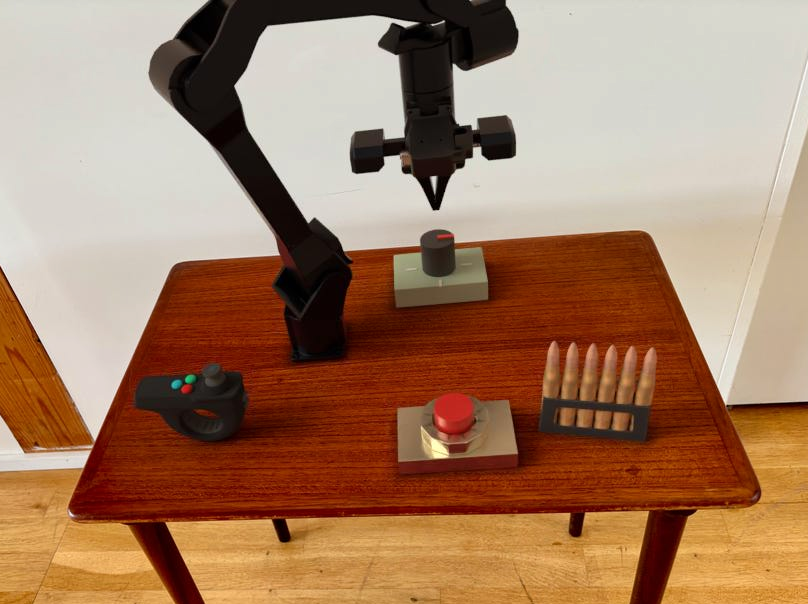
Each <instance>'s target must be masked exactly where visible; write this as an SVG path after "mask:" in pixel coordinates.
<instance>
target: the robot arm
mask: <svg viewBox="0 0 808 604" xmlns="http://www.w3.org/2000/svg"><path fill="white" fill-rule="evenodd" d="M371 16H374V17H380V18H381V17H382V18H386V19H387V18H388V19H392V20H398V21H402V22H409V23H414V24H411V25H409V26H403V25H401V24H398V23H396V22H391V23H390V25H389V27H388V28H387V30H386V32H385V33H384V34H383V35H382V36H381V38H380V39H379V40H378V42H377V47H378V48H379V49H382V50H383V51H385V52H388V53H390V54H392V55H394V56H397V57H398V69H399V78H400V89H401V99H402V100H401V102H402V108H403V119H404V127H403V135H404V137H393V138H386V137H385V136H386V135H385V129H384V128H374V129H364V130H355V131H354V133H353V134H352V135H351V136H350V145H349V163H350V169H351V173H353V174H355V175H361V174H372V173H379V172H380V171H381V170H382V169H383V168H384V167H385V164H386V161H385V158H386V157H387V158H388V157H397V156H399V160H401V161H400V162H401V163H400V164H401V165H400V166H401V173H402V174H403V175H411V176H412V177H414V178H415V179H416V181H417V182H418V184H419V186H420V188H421V189H422V191H423V193H424V195H425V197H426V200H427V201H428V203H429V206H430V207H431V211H433V212H435V211H440V210H441V206H442V203H443V199H444V196H445V193H446V190H447V187H448V184H449V182H450V181H451V177H452V176H453V175H454V174H455V173H456V171H457V170H462V169H464V168H465V167H466V160H469V159H470V160H471V159H473V158H474V149H475V148H480V154H481V156H482V157H483V158H485V159H486V161H489V162H490V161H500V160H509V159H513V158H514V157H516V156H517V136H516V131H515V128H514V124H513V121H512V119H511V118H510V117H509V116H508V115H507V114H503V115H494V116H486V117H485V116H484V117H477V119H476V129H473V125H472V124H465V125H460V123H458V122H457V120H456V104H455V103H456V102H455V84H454V82H455V81H454V65H455V66H456V67H457V68H458V69H459V70H461V71H463V72H469V71H472V70H474V69H477V68H480V67H482V66H485V65H488V64H492V63H494V62H497V61H499V60H502V59H505V58H508V57H510V56H512V55H513V54H514V53H515V52H516V50H517V47H518V44H519V37H520V33H519V32H520V31H519V28H518V27H517V23H516V20H515V17H514V15H513V13H512V11H511V9H510V8H509V7H508V6H507V0H207V1H206V2H205V3H203V5H201V7H199V8H198V9H197V11H195V12H194V13H193V14H192V15H191V16H190V17H188V18H187V19H186V20H185V22H183V24H182V25H181V27H180V28H179V29H178V31H177V33H176V34H175V35H174V37H173V38H172V39H169V40H167V41H164V42H163V43H161V44H160V45H159V46H158V47H157V48H156V49H155V50H154V51H153V54H152V56H151V59H150V60H149V66H148V67H149V68H148V72H147V74H148V78H149V82H150V83H151V85H152V87H153V89H154V90H155V92H156V93H157V94H158V95H159V96H160V97H161V98H162V99H163V100H164V101H165V102H167V104H168V105H169V106H171V108H172V109H174V110H175V111H176V112H177V113H178V114H179V115H180V116H181V117H182V119H184V120H185V121H186V122H187V123H188V124H189V125H190V126H191V127H192V128H193V129H194V130H195V131H196V132H197V133H198V134H199V135H200V136H202V138H203V139H204V140H206V141H207V143H208V144H209V145H210V147H211V148H212V150H213V151H214V152H215V154H216V156H217V157H218V158H219V160H220V161H221V163H222V164H223V165H224V166H225V168H226V170H227V171H228V172H229V174H230V175H231V177H232V179H234V181H235V182H236V184H237V185H238V186H239V188H240V189H241V191H242V192H243V193H244V195H245V196H246V198H247V199H248V201H249V202H250V203H251V205H252V206H253V208H254V209H255V210H256V212H257V213H258V215H259V216H260V217H261V219H262V220H263V222H264V223H265V224H266V226H267V228H268V229H269V230H270V232H271V234H273V236H274V238H275V242H276V247H277V252H278V254H279V256H280V258H281V261H282V263H283V265H282V267H281V268H280V269H279V272H278V273H277V274H276V277H275V278H274V280H273V282H272V284H271V289H272V290H273V291H274V292H275V293H276V295H277V296H278V297H279V298H280V299H281V300H282V302H283V303H285V304H284V309H283V318H284V319H283V320H284V323H285V327H286V330H287V334H288V338H289V342H290V345H291V349H290V350H291V351H290V361H291V362H293V363H299V362H301V363H302V362H311V361H312V362H313V361H323V360H324V361H325V360H337V359H338V360H339V359H342V358H343V356H344V346H345V345H346V344H347V338H348V329H347V328H348V327H347V322H346V317H345V312H344V308H345V303H346V299H347V292H348V289H349V287H350V286H351V285H350V284H351V281H352V280H353V278H354V274H353V269H352V268H351V266H350V265H353V264H354V260H353V259H352V258H351V257H350V256H349V255H347V254H346V253H345V251H344V247H343V245H342V243H341V241H340V239H339V237H338V236H336V235H335V234H334V233H333V232H332V231H331V230H330V229H329V228H328V227H327V226H326V225H324V224H323V223H322V222H321V221H320V220H319V219H317V217H316V216H314V217H313V218H312V219H311V220H310V221H309V222H308V220H307V219H306V217H305V216H304V214H303V213H302V211H301V210H300V207H299V206H298V205H297V203H296V202H295V200H294V198H293V197H292V196H291V194H290V193H289V191H288V189H287V188H286V187H285V185H284V183H283V182H282V180H281V178H280V176H279V175H278V174H277V172H276V170H275V169H274V167H273V166H272V164H271V162H269V160H268V158H267V157H266V155H265V154H264V152H263V150H262V149H261V147H260V146H259V144H258V143H257V141H256V140H255V138H254V136H253V135H252V134H251V132H250V130H249V127H248V126H247V125H248V124H247V121H246V117H245V111H244V109H243V108H244V107H243V103H242V101H241V99H240V97H239V93H238V91H237V89H236V85H237V83H238V82H239V81H240V79H241V78H242V76H243V75H244V74H245V72H246V71H247V69H248V67H249V65H250V63H251V59H252V57H253V54H254V52H255V49H256V47H257V44H258V41H259V39H260V38H261V36H262V35H263V33H264V32H265V31H266V29H267V28H268V27H273V26H280V25H290V24H291V25H293V24H300V23H301V24H302V23H311V22H312V23H313V22H321V21H332V20H333V21H334V20H340V19H342V20H343V19H351V18H361V17H371ZM433 177H435V188H434V183H433Z"/></svg>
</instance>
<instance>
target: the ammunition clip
mask: <svg viewBox="0 0 808 604" xmlns="http://www.w3.org/2000/svg"><path fill="white" fill-rule="evenodd" d="M559 349H560V348H559V346H558V343H557V341H556V340H553V341H552V342H551V343H550V345H549V348H548V351H547V355H546V362H545V369H544V371H543V378H542V391H541V392H542V394H541V405H540V406H541V407H540V415H539V423H538V432H541V433H548V434H560V435H568V436H570V435H571V436H579V437H580V436H581V437H590V438H600V439H601V438H602V439H611V440H612V439H613V440H621V441H631V442H632V441H633V442H646V441H647V438H648V437H647V436H648V431H649V423H650V416H651V415H650V414H651V408H652V407H651V406H652V401H653V398H654V397H653V396H654V392H655V386H656V369H657V365H658V364H657V360H658V356H657V351H656V349H655V347H654V346H652V347H650V348H649V349H648V351H647V353H646V355H645V357H644V359H643V364H642V368H641V370H640V373H639V376H638V378H637V376H636V374H637V363H638V354H637V350H636V347H635V346H634V345H631V346H630V347H629V349H627V352H626V354H625V356H624V360H623V362H622V363H623V364H622V367H621V368H622V369H621V370H620V371H621V373H620V374H619V377H618V376H617V372H618V367H617V366H618V352H617V348H616V345H615V344H611V345H610V347H608V350H607V351H606V354H605V357H604V361H603V365H602V370H601V373H600V376H599V373H598V370H599V366H598V364H599V353H598V348H597V345H596V344H595V343H594V342H593V343H591V344H590V346H589V347H588V350H587V352H586V356H585V358H584V359H585V360H584V365H583V370H582V373H581V375H580V373H579V361H580V359H579V350H578V346H577V344H576V342H575V341H573V342H572V343H571V344H570V345H569V347H568V350H567V353H566V356H565V362H564V368H563V372H562V375H561V371H560V350H559ZM579 381H580V382H579Z"/></svg>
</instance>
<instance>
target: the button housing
mask: <svg viewBox="0 0 808 604" xmlns="http://www.w3.org/2000/svg"><path fill="white" fill-rule="evenodd" d="M443 395H444V394H442V395H440V396H438V397H436V398H434V399H432V400H430V401H429V402H427V404H426V405H419V406H404V407H397V408H396V418H397V419H396V423H397V464H398V470H399V475H401V476H403V475H417V474H433V473H434V474H435V473H447V472H449V473H450V472H462V471H480V470H494V469H495V470H496V469H508V468H509V469H511V468H518V466H519V450H518V449H519V448H518V444H517V438H516V434H515V428H514V422H513V417H512V410H511V406H510V401H509V399H500V400H488V401H480V400H479V399H478V398H476V397H473V396H471V395H467V394H465V395H466V396H467V397H469V398H470V399H471V400H472V402H473V405H474V423H473V425H472V427H471V428H470V429H469V430H468V431H466V432H464V433H462V434H457V435H451V434H446V433H444V432H442V431H441V430H439V429H438V427H437V426H436V424H435V416H434V404H435V402H436V400H437V399H438V398H439V397H441V396H443Z"/></svg>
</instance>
